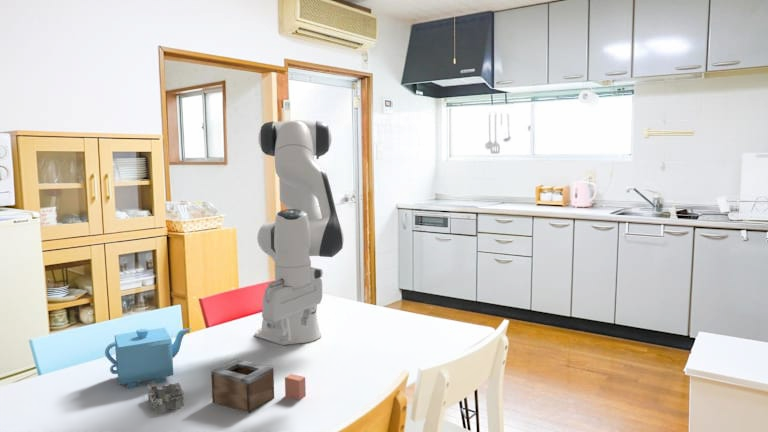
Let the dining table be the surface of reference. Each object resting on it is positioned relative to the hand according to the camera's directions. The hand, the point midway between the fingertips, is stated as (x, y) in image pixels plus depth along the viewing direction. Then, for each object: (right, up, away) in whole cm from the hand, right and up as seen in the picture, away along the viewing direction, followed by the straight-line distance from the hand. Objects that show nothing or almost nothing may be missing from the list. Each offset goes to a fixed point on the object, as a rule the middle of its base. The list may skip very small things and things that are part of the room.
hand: (294, 329), depth 138 cm
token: (0, -17, +2) cm, 17 cm away
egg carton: (-31, -18, -1) cm, 36 cm away
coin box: (-13, -18, 0) cm, 22 cm away
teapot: (-41, -16, +14) cm, 46 cm away
